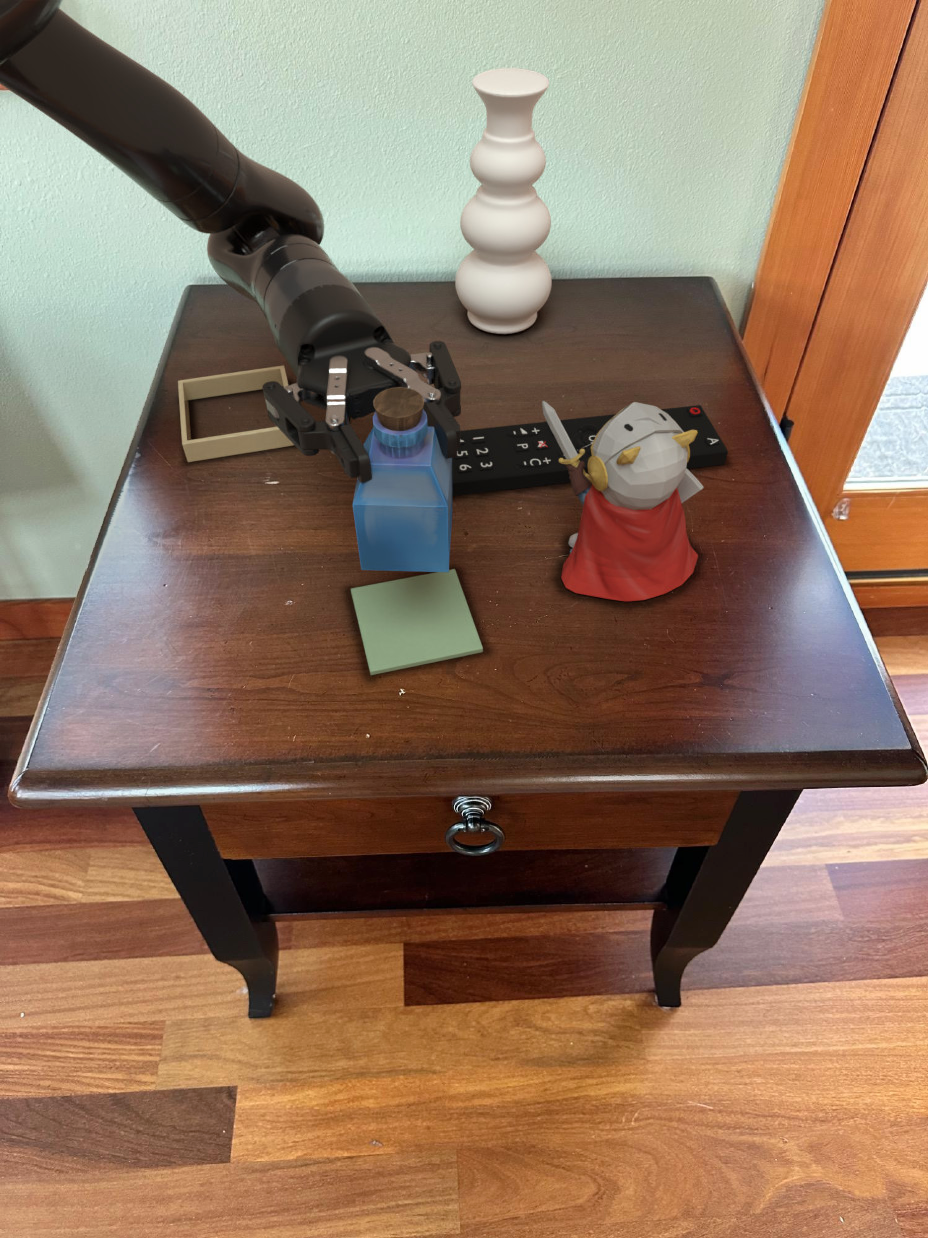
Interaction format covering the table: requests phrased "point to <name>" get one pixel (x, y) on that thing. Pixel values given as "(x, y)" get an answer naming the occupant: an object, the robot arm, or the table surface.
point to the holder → (235, 441)
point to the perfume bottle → (404, 490)
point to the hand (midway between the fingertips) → (409, 458)
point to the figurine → (630, 506)
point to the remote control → (556, 451)
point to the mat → (414, 621)
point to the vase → (506, 208)
